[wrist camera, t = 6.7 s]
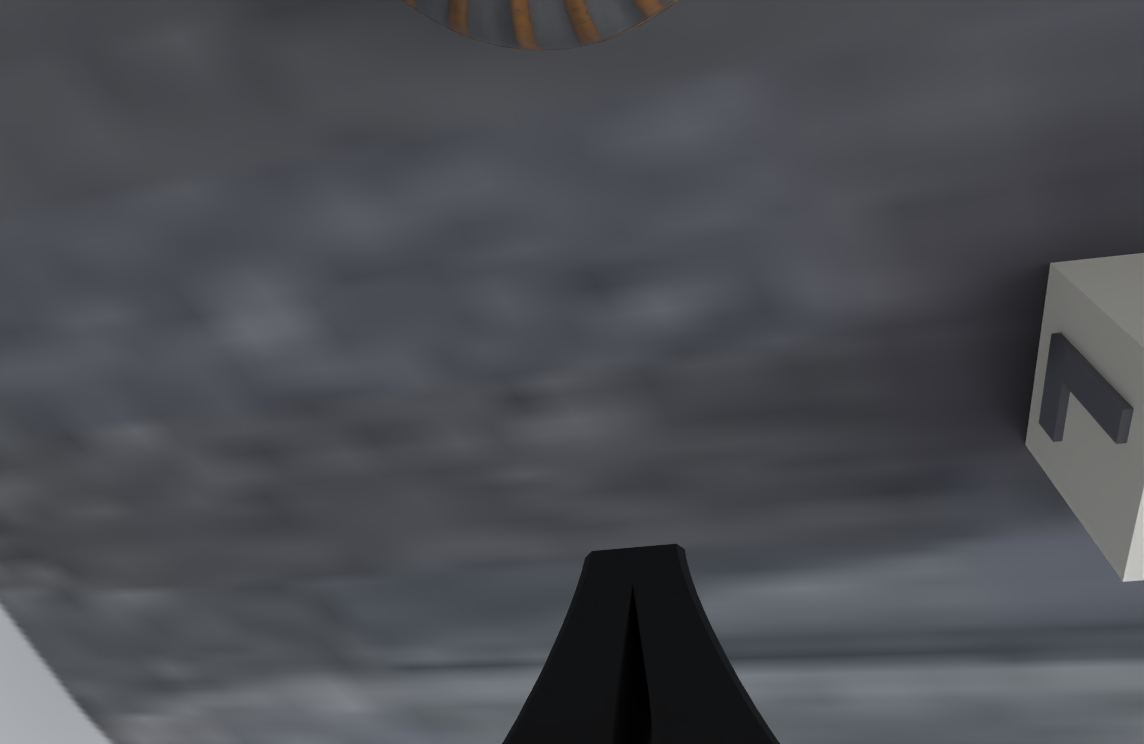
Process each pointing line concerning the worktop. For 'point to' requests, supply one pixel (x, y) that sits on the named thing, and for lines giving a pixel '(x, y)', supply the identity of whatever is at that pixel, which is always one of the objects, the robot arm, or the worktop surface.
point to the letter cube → (1095, 401)
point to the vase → (541, 20)
